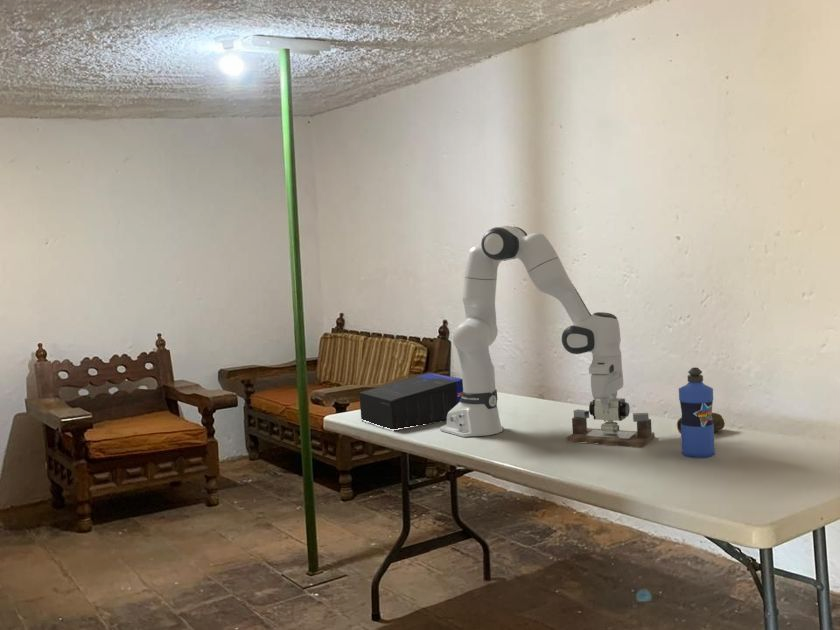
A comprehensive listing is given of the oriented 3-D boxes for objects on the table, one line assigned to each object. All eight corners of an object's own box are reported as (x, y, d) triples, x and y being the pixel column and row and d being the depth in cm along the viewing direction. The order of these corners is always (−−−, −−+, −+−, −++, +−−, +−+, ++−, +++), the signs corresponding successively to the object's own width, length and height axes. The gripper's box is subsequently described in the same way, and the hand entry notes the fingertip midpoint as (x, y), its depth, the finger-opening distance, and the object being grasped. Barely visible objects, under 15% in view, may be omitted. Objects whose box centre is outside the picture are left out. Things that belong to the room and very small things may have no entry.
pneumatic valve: (595, 430, 264) (593, 393, 263) (630, 432, 258) (629, 395, 257) (589, 434, 259) (587, 396, 259) (625, 436, 253) (623, 398, 252)
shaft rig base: (567, 441, 260) (566, 421, 259) (581, 432, 271) (580, 413, 270) (642, 447, 247) (641, 426, 247) (654, 437, 258) (653, 417, 258)
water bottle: (674, 452, 239) (670, 368, 237) (699, 447, 243) (696, 364, 240) (696, 459, 231) (692, 372, 228) (722, 454, 234) (719, 368, 232)
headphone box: (473, 415, 309) (471, 377, 307) (393, 432, 290) (390, 392, 289) (438, 406, 330) (436, 371, 328) (361, 421, 311) (358, 384, 310)
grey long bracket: (569, 435, 262) (568, 413, 261) (578, 429, 269) (577, 408, 268) (645, 440, 249) (644, 417, 249) (652, 434, 256) (651, 412, 255)
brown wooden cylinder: (692, 440, 252) (691, 418, 252) (675, 436, 259) (674, 415, 258) (727, 432, 259) (726, 411, 258) (710, 428, 265) (709, 408, 265)
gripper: (608, 358, 267) (610, 400, 269) (586, 369, 250) (588, 413, 251) (627, 359, 264) (629, 401, 265) (606, 369, 247) (608, 415, 248)
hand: (609, 407), depth 258 cm, fingers closed on pneumatic valve, 5 cm apart
